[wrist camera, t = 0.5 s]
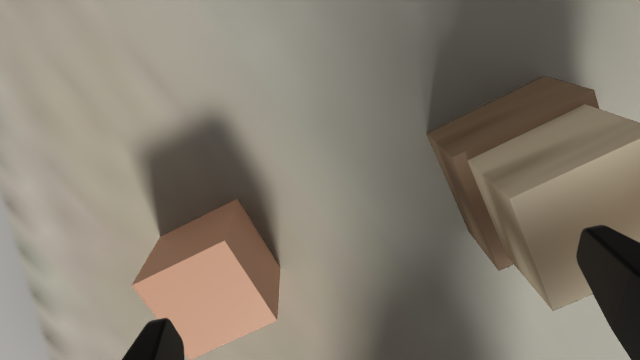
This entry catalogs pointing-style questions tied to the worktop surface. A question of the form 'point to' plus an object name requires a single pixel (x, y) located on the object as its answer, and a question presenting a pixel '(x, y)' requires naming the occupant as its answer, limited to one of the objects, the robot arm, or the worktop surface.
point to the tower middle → (561, 194)
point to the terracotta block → (212, 279)
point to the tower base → (491, 131)
